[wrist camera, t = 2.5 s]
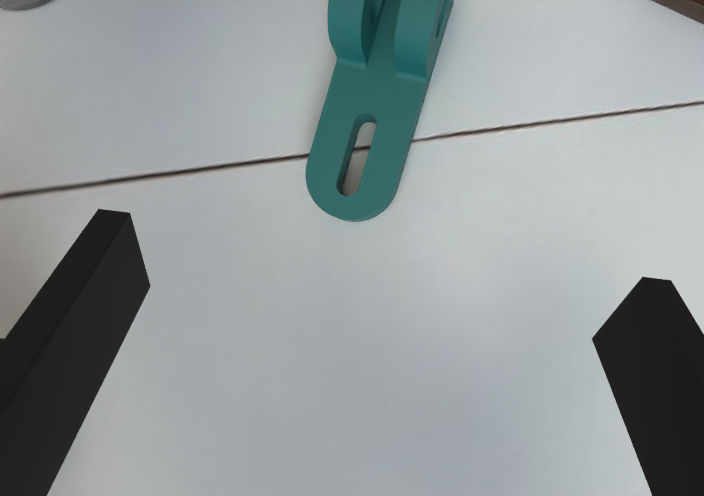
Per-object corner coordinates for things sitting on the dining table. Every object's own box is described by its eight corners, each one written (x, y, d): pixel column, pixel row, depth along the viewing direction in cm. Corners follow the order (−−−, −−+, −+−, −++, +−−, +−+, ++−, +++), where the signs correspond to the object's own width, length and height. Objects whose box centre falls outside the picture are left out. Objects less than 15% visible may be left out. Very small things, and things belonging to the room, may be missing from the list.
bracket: (368, -15, 36) (351, -89, 28) (453, 2, 35) (460, -69, 27) (302, 207, 36) (268, 196, 29) (384, 232, 35) (371, 226, 28)
